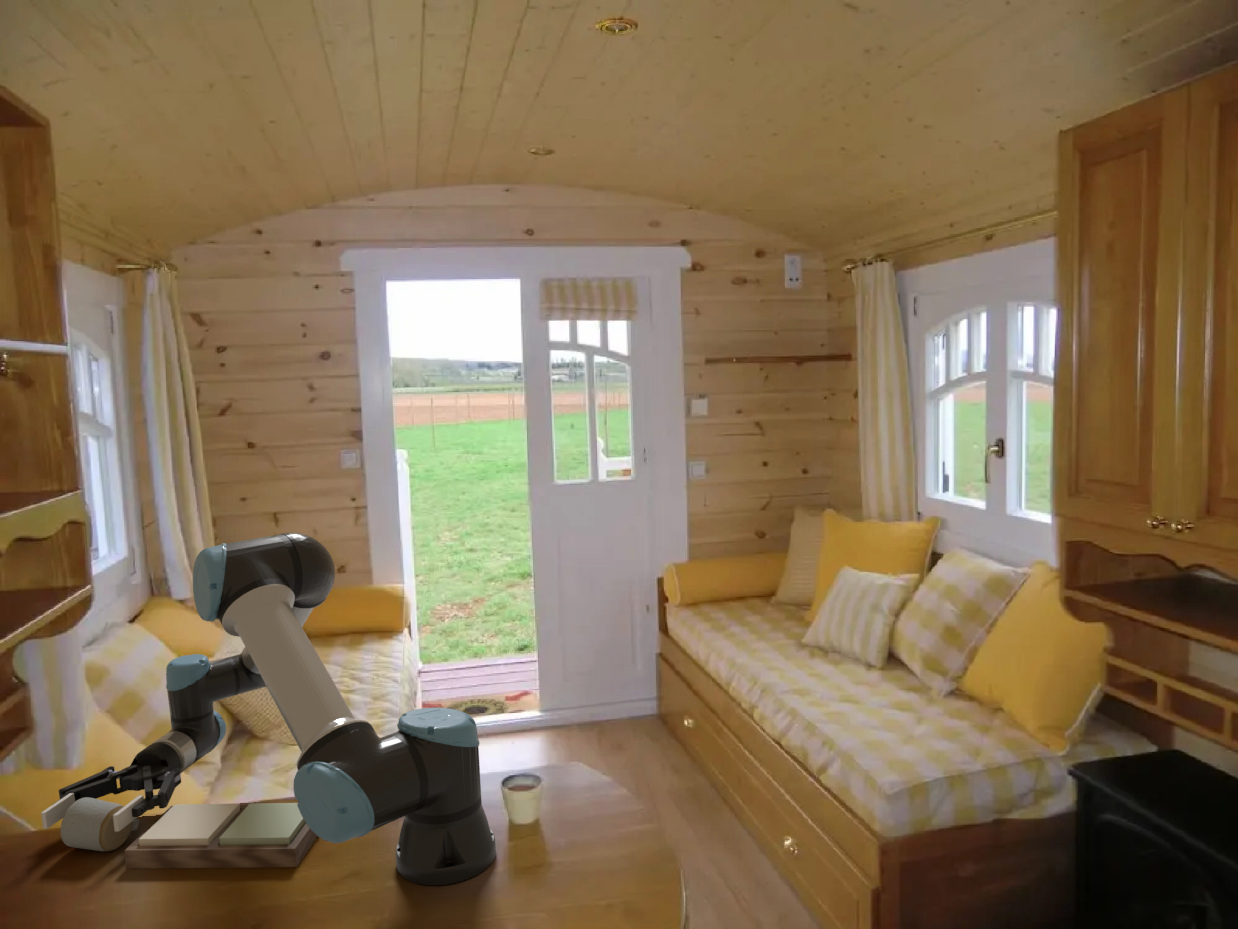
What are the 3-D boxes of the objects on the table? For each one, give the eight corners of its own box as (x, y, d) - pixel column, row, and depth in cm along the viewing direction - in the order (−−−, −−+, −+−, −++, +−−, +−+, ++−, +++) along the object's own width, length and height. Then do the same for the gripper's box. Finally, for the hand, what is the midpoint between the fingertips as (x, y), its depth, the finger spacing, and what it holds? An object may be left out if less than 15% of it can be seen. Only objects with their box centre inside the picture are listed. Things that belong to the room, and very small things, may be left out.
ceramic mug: (104, 861, 147) (99, 815, 147) (61, 856, 150) (56, 810, 149) (153, 828, 158) (149, 785, 157) (112, 824, 160) (108, 780, 159)
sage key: (316, 818, 156) (314, 802, 156) (290, 854, 145) (288, 837, 145) (251, 819, 157) (249, 803, 156) (220, 855, 146) (219, 838, 145)
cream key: (240, 819, 157) (239, 803, 156) (209, 855, 146) (207, 838, 146) (176, 820, 157) (174, 804, 157) (140, 856, 146) (138, 839, 146)
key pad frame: (328, 820, 158) (327, 803, 157) (296, 867, 144) (295, 848, 143) (173, 822, 159) (171, 805, 159) (126, 868, 145) (124, 850, 145)
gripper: (227, 782, 168) (152, 847, 147) (104, 779, 171) (13, 841, 150) (223, 742, 167) (147, 802, 146) (100, 739, 170) (8, 797, 149)
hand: (79, 822), depth 148 cm, fingers open, 12 cm apart
